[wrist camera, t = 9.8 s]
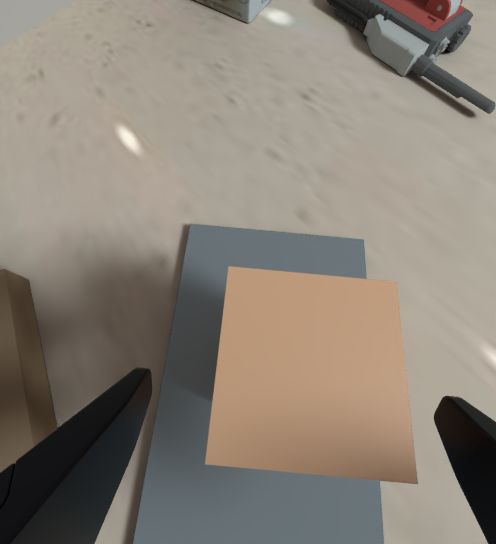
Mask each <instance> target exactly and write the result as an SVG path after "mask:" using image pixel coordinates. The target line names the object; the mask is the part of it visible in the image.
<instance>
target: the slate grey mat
mask: <svg viewBox="0 0 496 544" xmlns="http://www.w3.org/2000/svg"><path fill="white" fill-rule="evenodd" d="M229 266H231V267H242V268H253V269H264V270H274V271H285V272H296V273H307V274H318V275H329V276H340V277H351V278H362V279H366V265H365V250H364V240H362V239H351V238H340V237H329V236H318V235H307V234H296V233H285V232H274V231H263V230H252V229H241V228H230V227H219V226H208V225H197V224H190V229H189V234H188V240H187V245H186V251H185V257H184V262H183V268H182V273H181V279H180V284H179V290H178V296H177V301H176V307H175V312H174V318H173V323H172V329H171V334H170V340H169V346H168V351H167V357H166V362H165V368H164V373H163V379H162V385H161V390H160V396H159V401H158V407H157V412H156V418H155V424H154V429H153V435H152V440H151V446H150V451H149V457H148V463H147V468H146V474H145V479H144V485H143V490H142V496H141V501H140V507H139V513H138V518H137V524H136V529H135V535H134V540H133V544H384V537H383V522H382V507H381V491H380V481H379V480H369V479H358V478H347V477H336V476H325V475H315V474H304V473H293V472H282V471H271V470H261V469H250V468H239V467H228V466H217V465H206V464H205V460H206V452H207V443H208V435H209V427H210V418H211V410H212V401H213V393H214V385H215V376H216V368H217V359H218V351H219V343H220V334H221V326H222V317H223V309H224V301H225V292H226V284H227V275H228V267H229Z"/></svg>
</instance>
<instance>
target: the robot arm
mask: <svg viewBox="0 0 496 544" xmlns="http://www.w3.org/2000/svg"><path fill="white" fill-rule="evenodd" d="M151 394H152V379H151V371H150V369H148V368H135V369H134V370H132V371H131V372H130V373H129V374H127V375H126V376H125V377H123V378H122V379H121V380H120V381H118V382H117V383H116V384H114V385H113V386H112V387H111V388H109V389H108V390H107V391H105V392H104V393H103V394H101V395H100V396H99V397H98V398H96V399H95V400H94V401H92V402H91V403H90V404H89V405H87V406H86V407H85V408H83V409H82V410H81V411H79V412H78V413H77V414H76V415H74V416H73V417H72V418H70V419H69V420H68V421H67V422H65V423H64V424H63V425H61V426H60V427H59V428H58V429H56V430H55V431H54V432H52V433H51V434H50V435H48V436H47V437H46V438H45V439H43V440H42V441H41V442H39V443H38V444H37V445H36V446H34V447H33V448H32V449H30V450H29V451H28V452H26V453H25V454H24V455H23V456H21V457H20V458H19V459H17V460H16V462H15V463H12V464H11V465H9V466H8V467H7V468H6V469H4V470H3V471H2V472H0V544H94V543H95V541H96V538H97V536H98V534H99V531H100V529H101V527H102V524H103V522H104V520H105V517H106V515H107V513H108V510H109V508H110V506H111V503H112V501H113V498H114V496H115V494H116V491H117V489H118V487H119V484H120V482H121V480H122V477H123V475H124V473H125V470H126V468H127V466H128V463H129V461H130V459H131V456H132V454H133V451H134V449H135V446H136V443H137V440H138V437H139V433H140V430H141V427H142V424H143V420H144V417H145V414H146V411H147V408H148V404H149V401H150V398H151ZM434 421H435V425H436V427H437V430H438V432H439V435H440V437H441V440H442V443H443V445H444V448H445V450H446V453H447V455H448V458H449V461H450V463H451V466H452V468H453V471H454V473H455V475H456V478H457V480H458V482H459V484H460V486H461V489H462V491H463V493H464V495H465V497H466V499H467V501H468V503H469V505H470V507H471V509H472V511H473V513H474V515H475V517H476V519H477V521H478V523H479V525H480V528H481V530H482V532H483V534H484V536H485V538H486V540H487V542H488V544H496V422H495V421H494V420H492V419H491V418H489V417H488V416H486V415H485V414H483V413H482V412H481V411H479V410H478V409H476V408H475V407H473V406H472V405H471V404H469V403H468V402H466V401H465V400H463V399H462V398H460V397H454V396H445V397H443V398H442V400H441V402H440V404H439V406H438V408H437V409H436V411H435V414H434Z"/></svg>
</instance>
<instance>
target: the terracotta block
mask: <svg viewBox="0 0 496 544" xmlns="http://www.w3.org/2000/svg"><path fill="white" fill-rule="evenodd" d="M205 464H206V465H217V466H228V467H239V468H250V469H261V470H271V471H282V472H293V473H304V474H315V475H325V476H336V477H347V478H358V479H369V480H379V481H390V482H401V483H412V484H418V481H417V472H416V462H415V452H414V443H413V433H412V424H411V414H410V405H409V395H408V386H407V376H406V366H405V357H404V347H403V338H402V328H401V319H400V309H399V300H398V290H397V282H394V281H383V280H372V279H362V278H351V277H340V276H329V275H318V274H307V273H296V272H285V271H274V270H264V269H253V268H242V267H231V266H229V267H228V275H227V284H226V292H225V301H224V309H223V317H222V326H221V334H220V343H219V351H218V359H217V368H216V376H215V385H214V393H213V401H212V410H211V418H210V427H209V435H208V443H207V452H206V460H205Z"/></svg>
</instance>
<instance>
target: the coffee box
mask: <svg viewBox="0 0 496 544" xmlns="http://www.w3.org/2000/svg"><path fill="white" fill-rule="evenodd" d="M195 1H197V2H200V3H202V4H205V5H207V6H209V7H211V8H214V9H216V10H218V11H220V12H223V13H225V14H227V15H230V16H232V17H234V18H236V19H239V20H241V21H244V22H246V23H250V22H251V21H252V20H253V19H254V18H255V17H256V16H257V14H258V13H259V12H260V11H261V10H262V9H263V8H264V7H265V6H266V5H267V4H268V3H269V2H270V1H271V0H195Z"/></svg>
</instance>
